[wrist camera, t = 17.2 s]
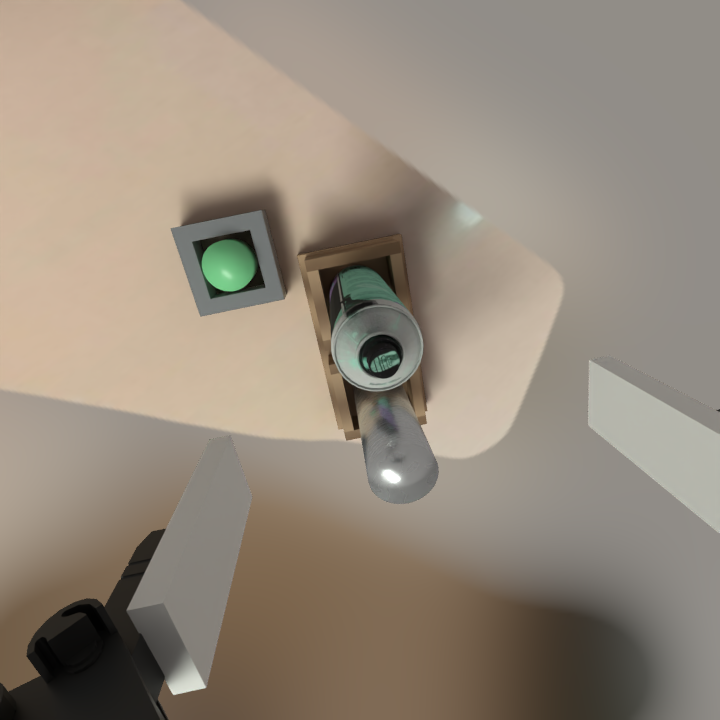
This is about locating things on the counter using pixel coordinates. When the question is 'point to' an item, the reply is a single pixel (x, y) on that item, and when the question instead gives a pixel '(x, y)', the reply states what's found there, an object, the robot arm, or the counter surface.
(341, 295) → the spray can
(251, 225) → the gray square frame
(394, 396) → the seated billet
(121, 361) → the counter surface
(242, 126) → the counter surface
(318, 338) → the wooden double crate
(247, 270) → the button
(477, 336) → the counter surface
